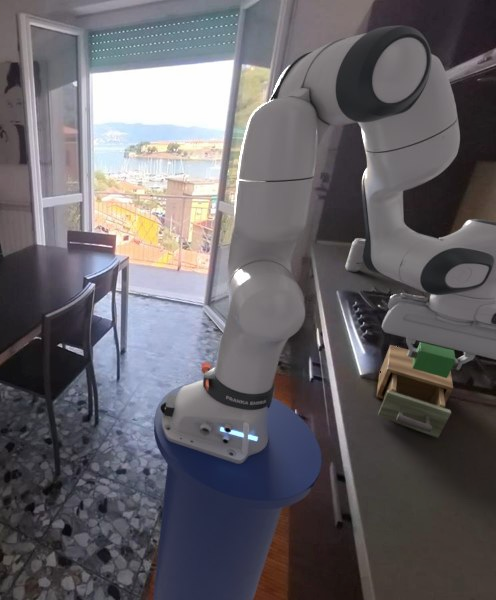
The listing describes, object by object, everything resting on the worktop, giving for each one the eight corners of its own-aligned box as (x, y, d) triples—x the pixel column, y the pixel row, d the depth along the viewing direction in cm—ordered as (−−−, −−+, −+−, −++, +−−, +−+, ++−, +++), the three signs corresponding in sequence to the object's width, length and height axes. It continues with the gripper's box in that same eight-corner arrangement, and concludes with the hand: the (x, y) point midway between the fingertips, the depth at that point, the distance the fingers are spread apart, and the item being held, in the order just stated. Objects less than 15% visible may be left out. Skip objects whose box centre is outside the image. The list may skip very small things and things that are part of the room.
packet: (447, 378, 73) (455, 360, 71) (412, 368, 76) (420, 350, 74) (445, 368, 76) (454, 350, 74) (412, 359, 79) (419, 341, 77)
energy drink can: (357, 273, 167) (367, 242, 161) (342, 269, 171) (351, 239, 165) (361, 270, 171) (370, 239, 165) (346, 267, 175) (355, 237, 169)
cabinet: (438, 417, 82) (453, 387, 78) (376, 397, 88) (387, 368, 85) (435, 388, 91) (449, 360, 88) (379, 371, 98) (390, 344, 94)
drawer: (439, 452, 72) (453, 427, 69) (376, 428, 78) (386, 404, 75) (435, 406, 84) (447, 382, 81) (381, 388, 90) (390, 366, 87)
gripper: (391, 295, 73) (371, 352, 79) (539, 324, 62) (502, 388, 67) (393, 286, 78) (373, 340, 84) (531, 311, 66) (497, 372, 72)
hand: (432, 362), depth 75 cm, fingers closed on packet, 5 cm apart
